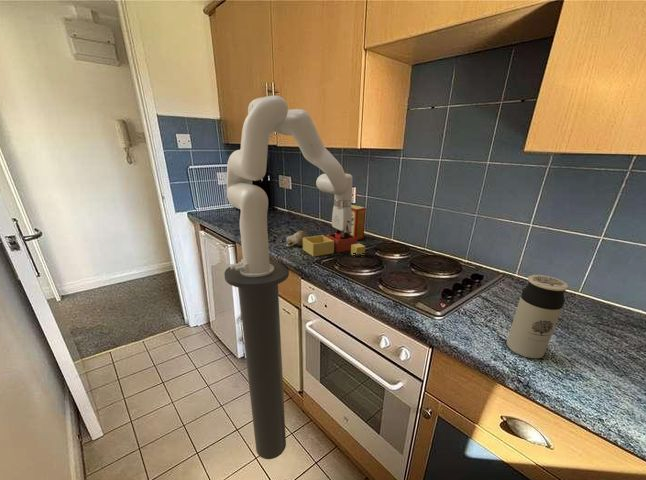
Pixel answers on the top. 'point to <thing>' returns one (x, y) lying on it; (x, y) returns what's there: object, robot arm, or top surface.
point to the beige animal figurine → (296, 239)
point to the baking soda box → (358, 221)
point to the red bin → (342, 242)
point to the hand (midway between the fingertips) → (341, 243)
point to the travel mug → (536, 316)
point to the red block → (338, 236)
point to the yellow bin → (318, 245)
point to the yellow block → (357, 249)
